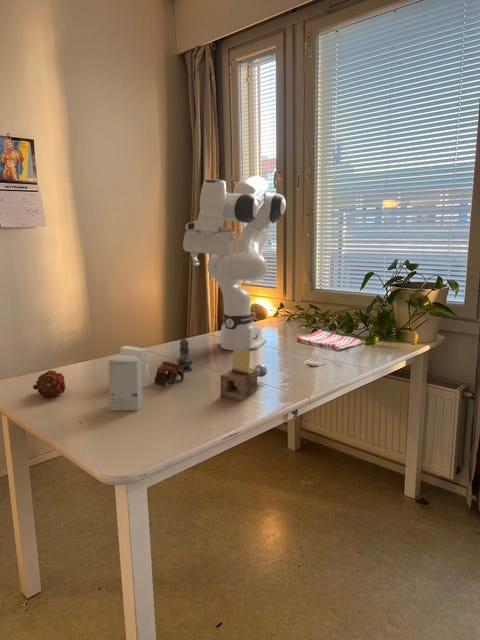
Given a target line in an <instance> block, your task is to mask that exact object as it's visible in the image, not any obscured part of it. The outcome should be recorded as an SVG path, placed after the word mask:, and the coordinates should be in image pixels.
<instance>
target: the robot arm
mask: <svg viewBox="0 0 480 640" xmlns="http://www.w3.org/2000/svg"><path fill="white" fill-rule="evenodd" d="M199 196H200V198H199V213H198V216H197V220H193V221H190V222H189V223H186V224H185V230H186V231H185V233H184V235H183V242H182V249H183V250H184V252H187V253H188V252H190V256H191V259H192V265H193V266H195V267H196V266H197V267H199V266H200V260H198V256H199V254H205V255H211V256H210V257H209V259H208V262H207V271H208V274H209V275H210V276H211V277H212V279H214V280H215V281H216V282H217V285H218V286H219V288H220V290H221V293H222V298H223V301H222V302H223V313H222V323H223V324H222V325H221V327H220V328H221V329H220V340H219V341H218V342H217V344H218V345H219V346H220V348H222V349H225V350H229V351H234V349H240V350H246V351H250V350H258V349H259V348H260V347H261V346H263V345H264V344H265V343H267V338H265V337H262V329H261V328H260V327H259V326H258V325H257V324H256V323H255V322H254V320H253V319H254V318H255V317H256V315H257V314H256V312H251V295H250V293H249V292H248V291H247V290H246V289H244V288H242V286H241V285H240V283H239V282H240V281H241V282H242V281H243V282H255V281H261V280H262V279H264V277H265V276H266V274H267V272H268V264H267V261H266V259H265V258H264V257H263V256H262V255H261V252H262V250H263V247H264V246H265V243H266V241H267V238H268V236H269V233H270V225H271V224H270V223H272V224H274V223H276V222H277V221H278V220H280V219H281V218H282V217H283V216H284V214H285V212H286V208H287V203H286V198H285V196H284V195H282V194H281V193H278V192H276V193H275V192H269V185H268V182H267V180H266V179H265V178H264V177H262V176H258V175H252V176H247V177H245V178H243V179H241V180H239V181H238V182H237V183H236V184H235V186H234V188H233V192H232V193H231V192H227V183H226V181H225V180H223V179H216V178H215V179H212V178H211V179H209V178H208V179H205V180H204V181H203V183H202V186H201V191H200V195H199ZM225 221H229V222H240V223H245V224H246V225H245V226H244V227H243V229H242V231H241V232H240V234H239V235H238V238H237V239H236V241H235V236H236V235H235V231H234V230H233V229H232V228H225V227H224V223H225ZM235 250H236V252H235Z"/></svg>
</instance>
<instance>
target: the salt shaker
mask: <svg viewBox="0 0 480 640" xmlns="http://www.w3.org/2000/svg"><path fill="white" fill-rule="evenodd" d="M182 338H183V339H180V341H179V347H180V348H179V349H178V351H179V355H180V356H179V357H178V358H177V359H176V362H177V363H176V364H177V365H179V366H181V367H183V368H184V369H183V373H185V372H186V373H187V372H191V371H193V368H192V367H191V365H192V364H193V361H194V359H193V358H192V357H190V348H189V341H188V340H187V339H186V337H185V336H184V337H182Z"/></svg>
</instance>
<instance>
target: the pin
mask: <svg viewBox="0 0 480 640" xmlns="http://www.w3.org/2000/svg"><path fill="white" fill-rule="evenodd" d="M254 369H256V370H257V378H258V377H259V378H262V377H264V376H266V374H267V373H268V369H267V367H266V366H265V365H264V364H261V363H260V364H259V363H258V365H256V366H255V367H254ZM232 386H233V388H235V389H237V382H234V381H233V382H232Z"/></svg>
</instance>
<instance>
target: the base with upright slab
mask: <svg viewBox="0 0 480 640" xmlns="http://www.w3.org/2000/svg"><path fill="white" fill-rule="evenodd" d="M147 352H148V351H147V348H143V347H137V346H131V345H124V346H121V347H120V355H130V356H141V373H142V388H143V387H146V386H148V385H149V384H150V371H149V369H150V368H149V364H148V355H147V354H148V353H147Z"/></svg>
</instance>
